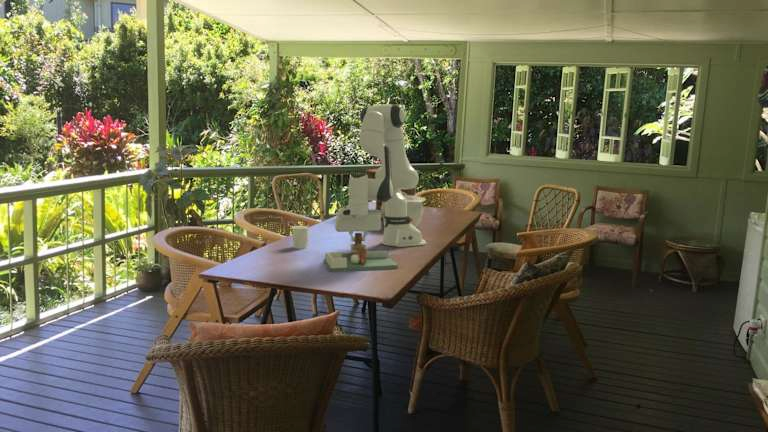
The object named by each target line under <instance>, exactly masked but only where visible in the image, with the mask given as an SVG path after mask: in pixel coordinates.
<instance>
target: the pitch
mask: <svg viewBox="0 0 768 432" xmlns="http://www.w3.org/2000/svg"><path fill="white" fill-rule="evenodd" d="M326 253H327V261H326V260H325V258H323V264H324V265H325V266H326V268H327V269H328V271H329V273H331V272H332V273H333V272H334V273H335V272H337V273H338V272H350V271H351V272H353V271H354V272H355V271H356V272H357V271H374V270H392V269H393V270H395V269H399V266H398V264H397V263H396V262H395V261H394V260H392V259H391V258H390V257H389V256H388V258H373V259H366V263H363V264H361V263H360V262H358V263H357V264H354V263H352V262H351V260H347V258H342V251H332V252H331V251H329V252H326Z"/></svg>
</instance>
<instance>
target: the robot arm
mask: <svg viewBox="0 0 768 432" xmlns="http://www.w3.org/2000/svg"><path fill="white" fill-rule="evenodd" d="M359 119H360V123H361V127H360V131H359V146H360V148H361V149H362V150H363V151H364V152H365V153H366V154H368V155H370V156H372V157H374V158H377V159H379V160H380V164H381V165H380V167H378V168H376V169H377V171H376V174H375V179H369V177H368V175H367V174H366V172H365V171H356V172H353V173H351V174H350V175H349V180H348V189H347V190H348V202H347V203H348V204H347V205H346V206H342V207H340V208H337V213H338V214H337V215H336V217H335V222H334V229H335V230H336V231H335V232H338V233H343V232H346V233H348V235H349V236H350V237H351V239H350V240H351V242H355V236H353V234H354V232H363V233H364V234H362V242H365V241H366V237H367V235H369V233H368V232H372V231H373V232H375V231H377V232H378V231H381V230H382V220H381V216H382V213H381V211H379V210H377V209H376V208H375V209H376V210H375V209H370V208H369V206H370V205H369V204H370V203H369V201H374V202H376V201H381V202H385V216H384V220H383V226H384V227H383V228H384V229H383V234H382V240H381V244H383V245H386V246H391V247H398V248H404V247H412V246H425V245H427V242H426V240H425V239H423V238H422V237H423V236H422V233H421V231H420V229H419V228H417V226H416V227H415V226H413V225H412V224H411V223H410V222H412V221H413V220H414V219H413V218H412V217H409V216H407V200H406V198H405V197H404V196H403V195H402V192H401V189H404V190H406V189H412V188H415V189H416V187H417V186H418V184H419V181H420V179H419V177H420V176H419V175H418V173H417V172H416V171H415V170H416V169H415V168H414V167H413V166H412V165H411V163H410V160H409V158H408V157H407V153H406V147H405V140H404V139H405V138H404V137H405V136H404V132H403V128H402V127H403V125H404V123H405V121H406V110H405V108H404V107H403V105H401V104H398V103H397V104H395V103H393V104H387V103H386V104H385V103H384V104H378V105H372V106H370V105H368V106H365V107H363V108H362V109H361V111H360V113H359ZM378 211H379V212H378Z"/></svg>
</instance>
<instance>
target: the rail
mask: <svg viewBox="0 0 768 432" xmlns="http://www.w3.org/2000/svg"><path fill="white" fill-rule="evenodd" d="M341 252H342V251H341ZM327 253H328V252H326V253H324V254H325V255H324V257H325V258H324V259H325V260H326V261H327ZM354 254H357V255H358V256H359V252H355V253H352V252H351V251H347V252H345V251H344V252H342V258H347V260H351V256H352V255H354ZM388 257H389V250H366V259H373V258H388Z"/></svg>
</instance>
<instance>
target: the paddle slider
mask: <svg viewBox="0 0 768 432" xmlns="http://www.w3.org/2000/svg"><path fill="white" fill-rule="evenodd" d="M354 237H355V241H354V243H351V244H350V252H352V253H355V252H359V257H360V261H359V262H360V263H361V264H363V263H366V251H367V245H366V244H365V243H363V241H362V237H363V234H362V233H361V232H355V233H354Z"/></svg>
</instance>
